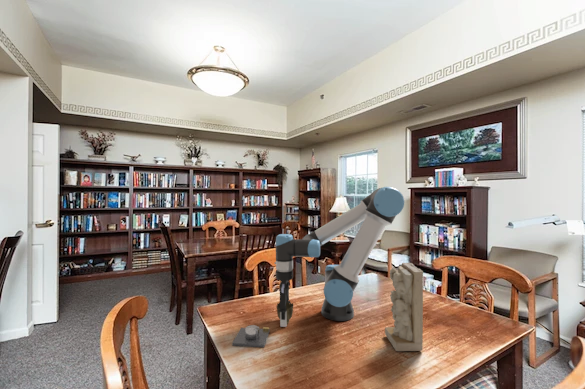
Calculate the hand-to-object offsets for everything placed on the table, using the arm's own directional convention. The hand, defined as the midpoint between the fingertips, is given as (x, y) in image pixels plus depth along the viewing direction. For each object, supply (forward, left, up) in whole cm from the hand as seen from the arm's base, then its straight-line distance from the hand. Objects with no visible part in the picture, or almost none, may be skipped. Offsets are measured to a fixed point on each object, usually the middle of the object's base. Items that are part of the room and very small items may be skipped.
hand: (284, 322), depth 122 cm
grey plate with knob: (+11, +14, -1) cm, 18 cm away
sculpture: (-47, +12, -1) cm, 48 cm away
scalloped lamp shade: (0, 0, 0) cm, 1 cm away
